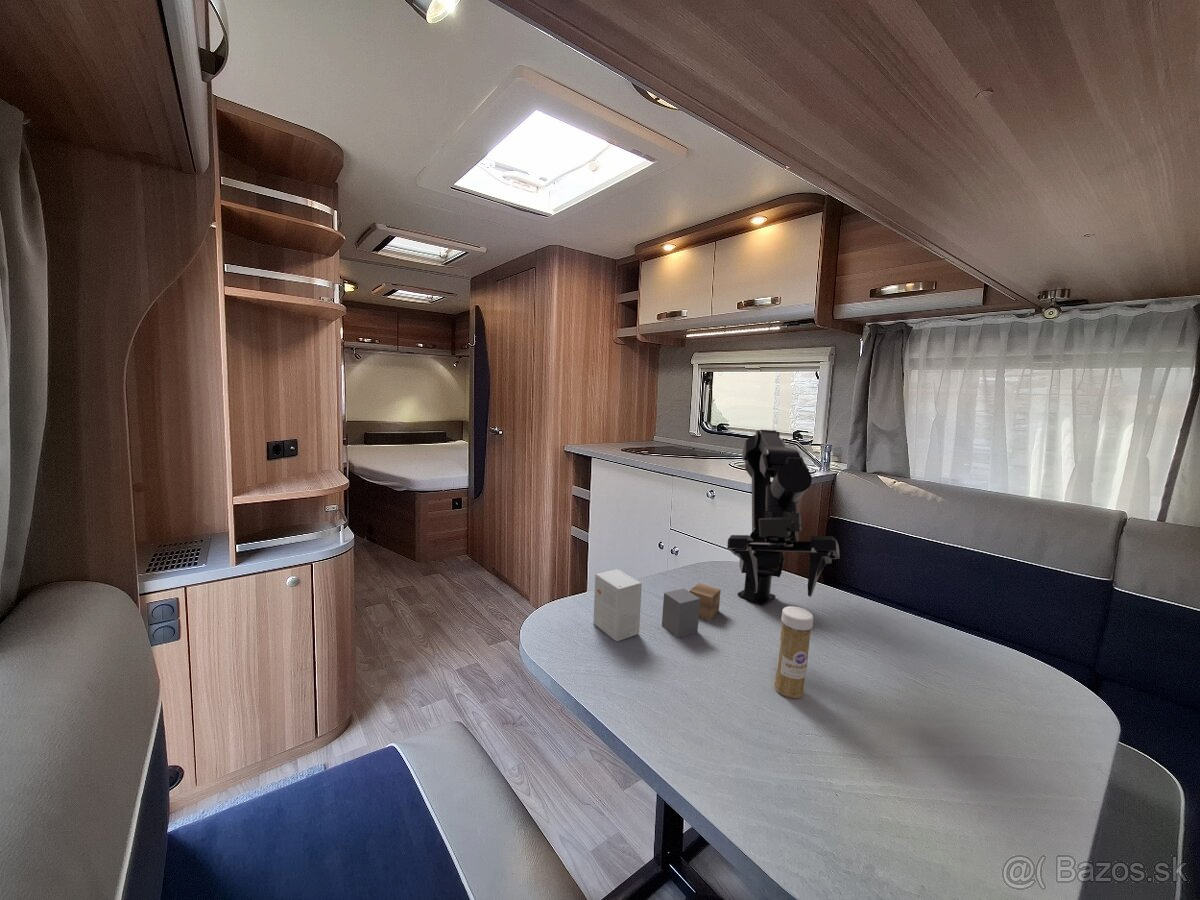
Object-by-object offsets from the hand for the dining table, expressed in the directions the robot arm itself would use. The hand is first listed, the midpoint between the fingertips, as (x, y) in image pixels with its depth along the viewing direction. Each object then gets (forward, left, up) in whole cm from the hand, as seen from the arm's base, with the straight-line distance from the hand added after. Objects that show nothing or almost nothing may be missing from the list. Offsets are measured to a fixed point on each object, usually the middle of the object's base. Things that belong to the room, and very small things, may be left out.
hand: (781, 594), depth 84 cm
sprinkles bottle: (+8, +6, -12) cm, 16 cm away
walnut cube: (-4, -18, -12) cm, 22 cm away
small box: (+16, -25, -12) cm, 32 cm away
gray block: (+6, -17, -12) cm, 22 cm away
